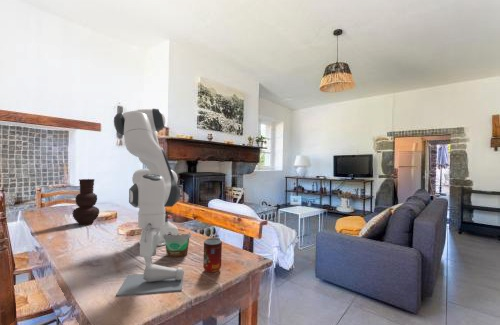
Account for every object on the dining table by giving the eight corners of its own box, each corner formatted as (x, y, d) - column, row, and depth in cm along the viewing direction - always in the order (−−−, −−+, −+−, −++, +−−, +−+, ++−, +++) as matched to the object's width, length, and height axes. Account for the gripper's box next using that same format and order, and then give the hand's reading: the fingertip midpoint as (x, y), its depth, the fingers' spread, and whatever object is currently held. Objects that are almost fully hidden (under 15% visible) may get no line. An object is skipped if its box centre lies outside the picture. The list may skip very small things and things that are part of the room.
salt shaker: (147, 270, 90) (183, 271, 92) (142, 285, 85) (181, 286, 87) (146, 260, 87) (184, 261, 89) (142, 275, 82) (181, 276, 84)
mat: (115, 296, 77) (115, 294, 77) (127, 276, 91) (127, 275, 91) (181, 290, 81) (181, 289, 81) (183, 272, 95) (183, 271, 95)
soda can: (199, 270, 97) (200, 239, 98) (214, 265, 102) (215, 236, 102) (209, 276, 92) (210, 243, 92) (224, 271, 97) (225, 240, 97)
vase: (103, 223, 168) (104, 179, 168) (78, 227, 155) (79, 180, 155) (92, 220, 176) (93, 178, 176) (67, 224, 163) (68, 179, 163)
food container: (162, 260, 107) (162, 237, 107) (163, 254, 113) (163, 233, 113) (191, 257, 110) (191, 235, 110) (190, 252, 116) (191, 231, 116)
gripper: (156, 228, 76) (155, 272, 76) (164, 214, 96) (164, 249, 96) (134, 228, 75) (133, 273, 75) (147, 215, 95) (147, 250, 95)
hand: (150, 260), depth 86 cm, fingers open, 8 cm apart
